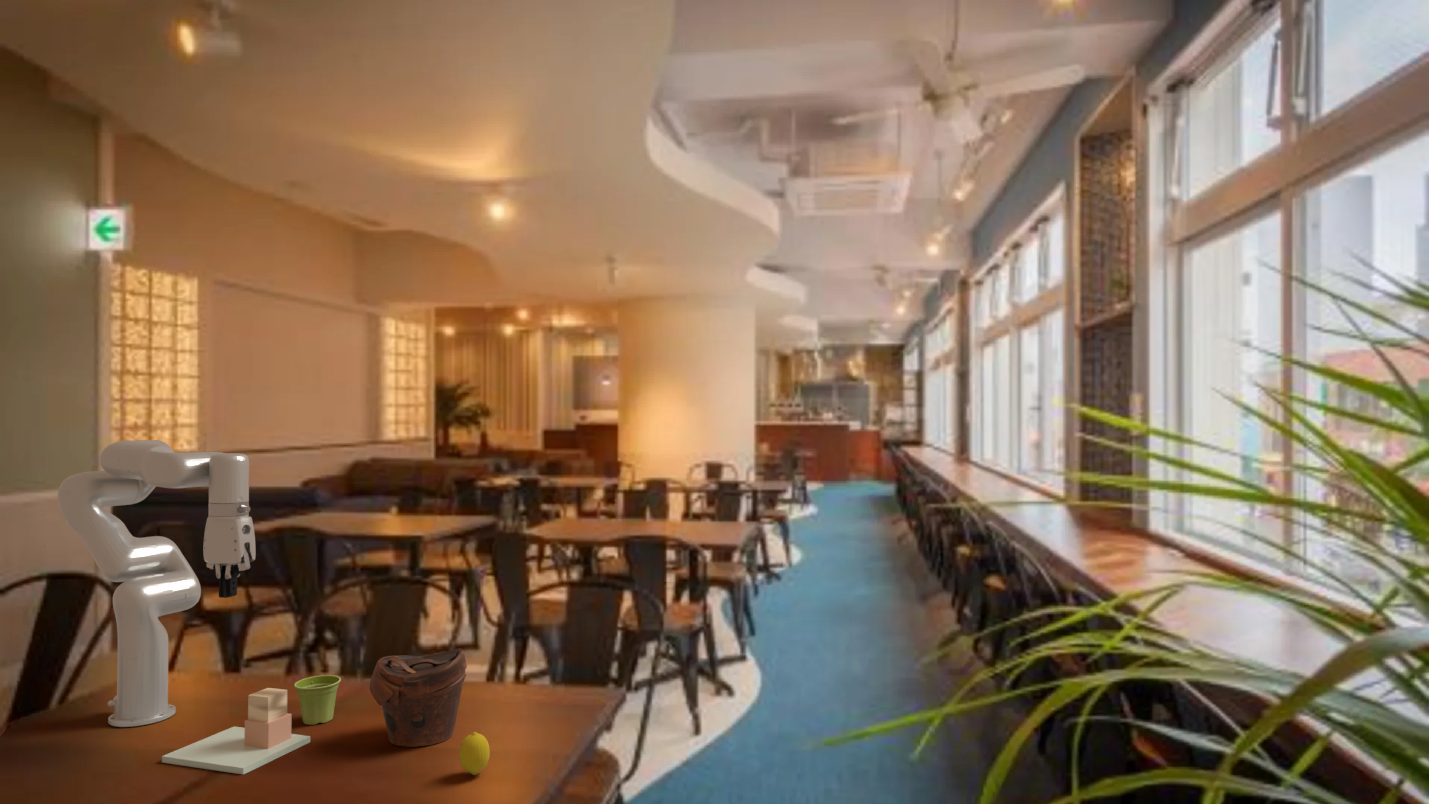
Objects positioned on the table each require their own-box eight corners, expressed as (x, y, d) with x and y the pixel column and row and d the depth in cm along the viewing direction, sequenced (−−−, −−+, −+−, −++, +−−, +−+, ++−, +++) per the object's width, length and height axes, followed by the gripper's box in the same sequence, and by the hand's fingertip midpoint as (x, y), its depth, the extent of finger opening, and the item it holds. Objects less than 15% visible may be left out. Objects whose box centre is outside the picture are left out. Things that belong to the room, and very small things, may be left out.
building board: (161, 762, 167) (161, 756, 167) (234, 732, 183) (234, 726, 183) (243, 774, 161) (243, 768, 161) (310, 742, 177) (310, 736, 177)
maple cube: (267, 711, 177) (267, 687, 177) (287, 714, 176) (287, 689, 176) (248, 720, 173) (248, 695, 173) (268, 722, 171) (268, 697, 171)
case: (353, 738, 179) (355, 652, 179) (440, 715, 193) (442, 635, 194) (393, 763, 167) (395, 671, 167) (483, 736, 181) (485, 651, 182)
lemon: (462, 769, 163) (462, 727, 163) (491, 768, 163) (492, 726, 164) (456, 781, 157) (456, 738, 158) (486, 780, 158) (486, 737, 158)
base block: (244, 745, 172) (244, 720, 172) (268, 735, 178) (268, 710, 178) (268, 748, 170) (268, 723, 170) (291, 738, 176) (291, 713, 176)
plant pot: (322, 729, 184) (323, 689, 185) (284, 726, 186) (284, 686, 186) (349, 714, 194) (349, 676, 194) (312, 712, 195) (313, 674, 196)
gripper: (270, 510, 185) (269, 595, 184) (216, 508, 189) (215, 591, 189) (242, 513, 178) (241, 602, 177) (186, 511, 182) (185, 598, 181)
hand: (227, 596), depth 183 cm, fingers closed
